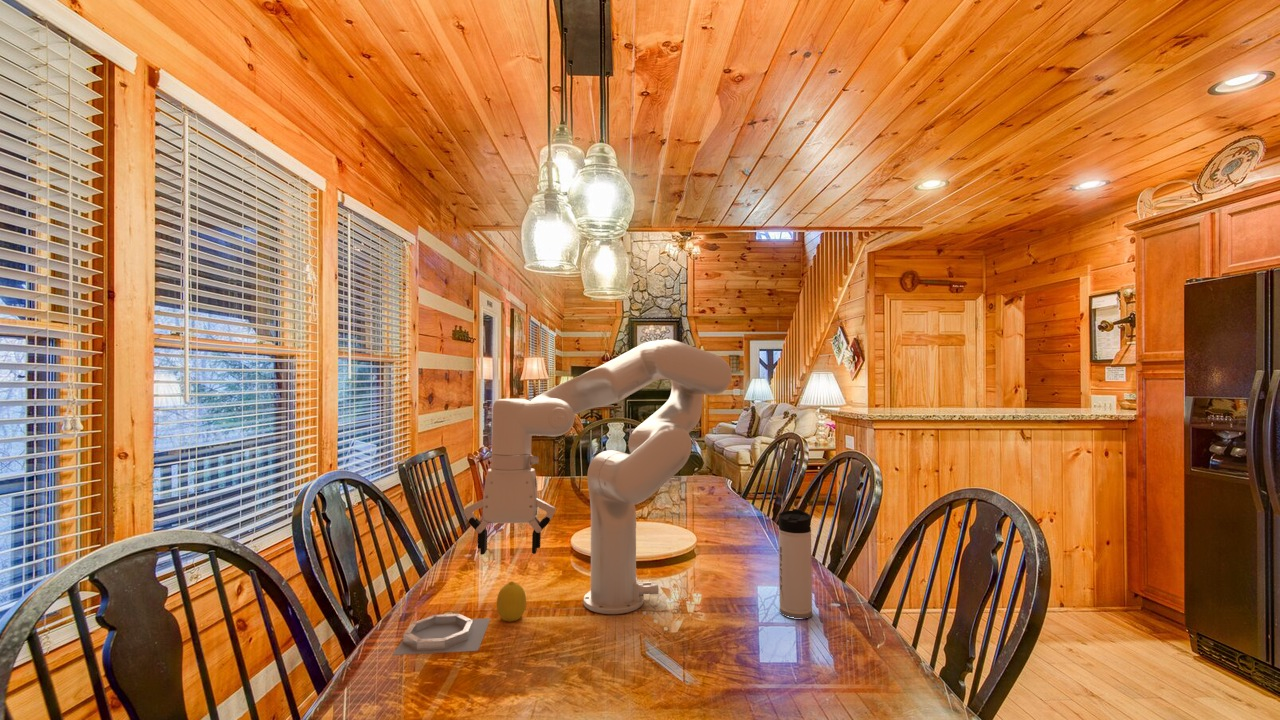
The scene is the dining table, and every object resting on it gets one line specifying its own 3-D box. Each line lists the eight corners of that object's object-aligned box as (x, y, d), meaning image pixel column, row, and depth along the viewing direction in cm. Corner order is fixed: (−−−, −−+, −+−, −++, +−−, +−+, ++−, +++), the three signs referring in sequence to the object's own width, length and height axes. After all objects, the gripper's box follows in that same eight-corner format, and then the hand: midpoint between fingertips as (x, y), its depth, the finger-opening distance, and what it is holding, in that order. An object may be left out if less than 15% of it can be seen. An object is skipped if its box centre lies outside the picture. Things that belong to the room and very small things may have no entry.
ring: (476, 620, 107) (476, 612, 107) (464, 648, 96) (464, 639, 96) (416, 623, 106) (416, 615, 106) (397, 651, 95) (397, 642, 95)
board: (490, 623, 109) (490, 618, 109) (477, 656, 96) (477, 650, 96) (415, 626, 107) (415, 621, 107) (392, 660, 94) (392, 654, 94)
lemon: (519, 631, 105) (519, 587, 105) (491, 628, 106) (491, 585, 107) (530, 618, 111) (530, 577, 111) (504, 616, 112) (504, 575, 112)
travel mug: (814, 609, 115) (813, 510, 115) (809, 622, 109) (808, 517, 109) (783, 604, 117) (782, 507, 118) (776, 616, 111) (775, 514, 112)
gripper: (557, 460, 114) (555, 546, 113) (469, 459, 112) (467, 547, 112) (555, 465, 106) (553, 557, 106) (461, 465, 105) (458, 558, 104)
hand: (509, 552), depth 109 cm, fingers open, 9 cm apart
